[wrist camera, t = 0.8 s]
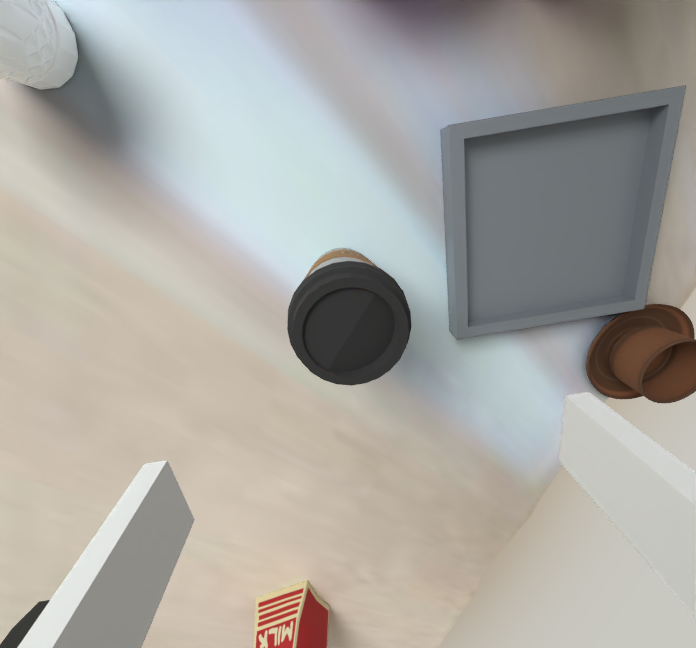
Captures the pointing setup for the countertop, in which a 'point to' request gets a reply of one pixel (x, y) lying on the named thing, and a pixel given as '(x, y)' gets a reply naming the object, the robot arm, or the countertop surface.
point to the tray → (555, 210)
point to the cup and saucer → (645, 355)
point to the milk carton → (291, 619)
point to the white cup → (36, 44)
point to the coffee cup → (348, 319)
